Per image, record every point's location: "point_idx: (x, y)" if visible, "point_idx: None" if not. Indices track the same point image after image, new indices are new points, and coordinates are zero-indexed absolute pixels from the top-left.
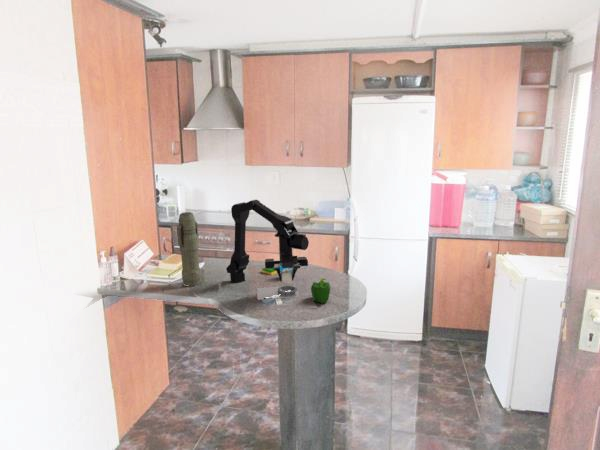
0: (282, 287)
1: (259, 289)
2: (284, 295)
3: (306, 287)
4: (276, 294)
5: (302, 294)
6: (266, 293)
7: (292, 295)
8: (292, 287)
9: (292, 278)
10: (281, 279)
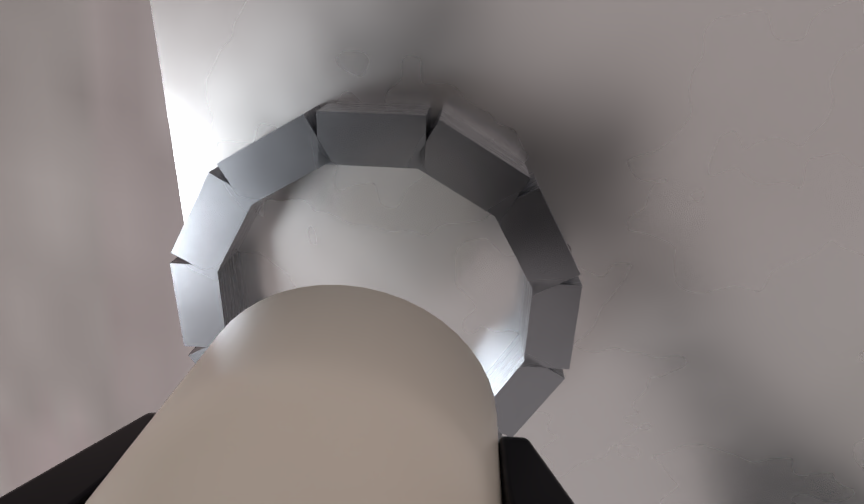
0: None
1: (850, 491)
2: (465, 98)
3: (80, 446)
4: (619, 195)
5: (125, 193)
6: (799, 294)
7: (293, 58)
8: None
9: (121, 454)
10: (506, 477)
